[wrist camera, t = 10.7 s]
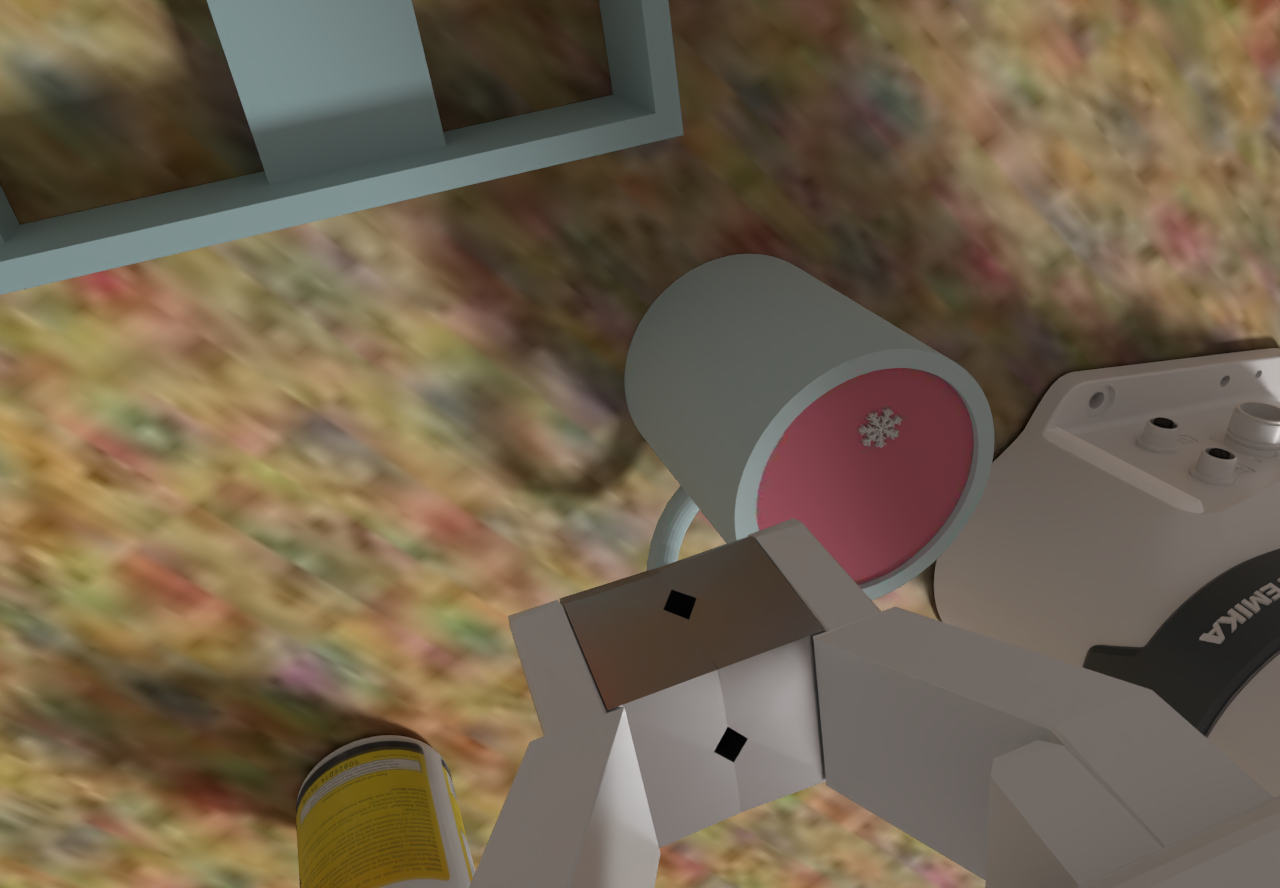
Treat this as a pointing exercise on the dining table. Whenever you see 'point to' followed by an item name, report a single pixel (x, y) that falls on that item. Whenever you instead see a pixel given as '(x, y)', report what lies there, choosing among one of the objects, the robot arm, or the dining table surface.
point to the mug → (805, 420)
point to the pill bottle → (381, 819)
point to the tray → (351, 133)
